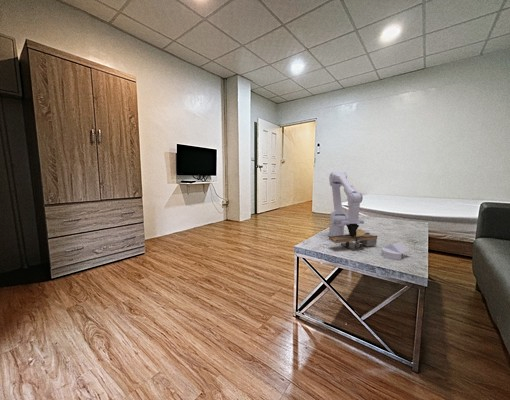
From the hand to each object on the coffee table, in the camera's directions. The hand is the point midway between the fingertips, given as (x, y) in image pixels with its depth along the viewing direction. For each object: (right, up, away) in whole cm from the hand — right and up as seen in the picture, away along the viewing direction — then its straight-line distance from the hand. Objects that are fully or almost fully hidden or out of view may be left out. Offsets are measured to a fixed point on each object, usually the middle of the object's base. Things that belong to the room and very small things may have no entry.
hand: (351, 236), depth 124 cm
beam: (+1, -6, +1) cm, 6 cm away
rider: (+4, -1, +1) cm, 5 cm away
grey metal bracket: (+1, -7, +1) cm, 7 cm away
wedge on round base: (+18, -9, -10) cm, 22 cm away
